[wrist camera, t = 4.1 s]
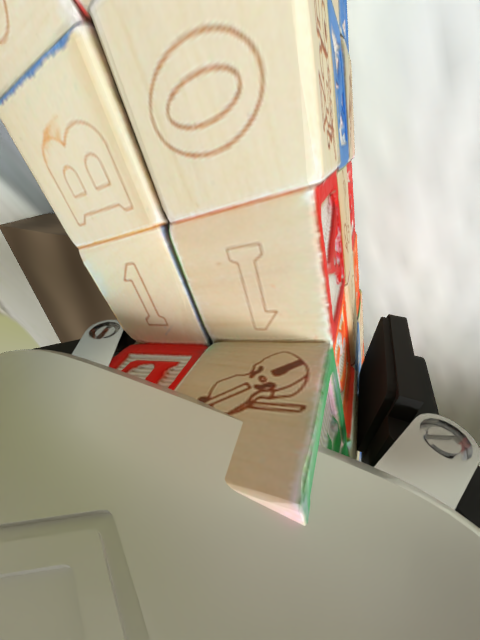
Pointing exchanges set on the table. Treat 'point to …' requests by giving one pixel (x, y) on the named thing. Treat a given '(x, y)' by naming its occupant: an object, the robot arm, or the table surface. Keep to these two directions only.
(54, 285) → the plinth
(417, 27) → the table surface
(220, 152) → the stack of blocks
